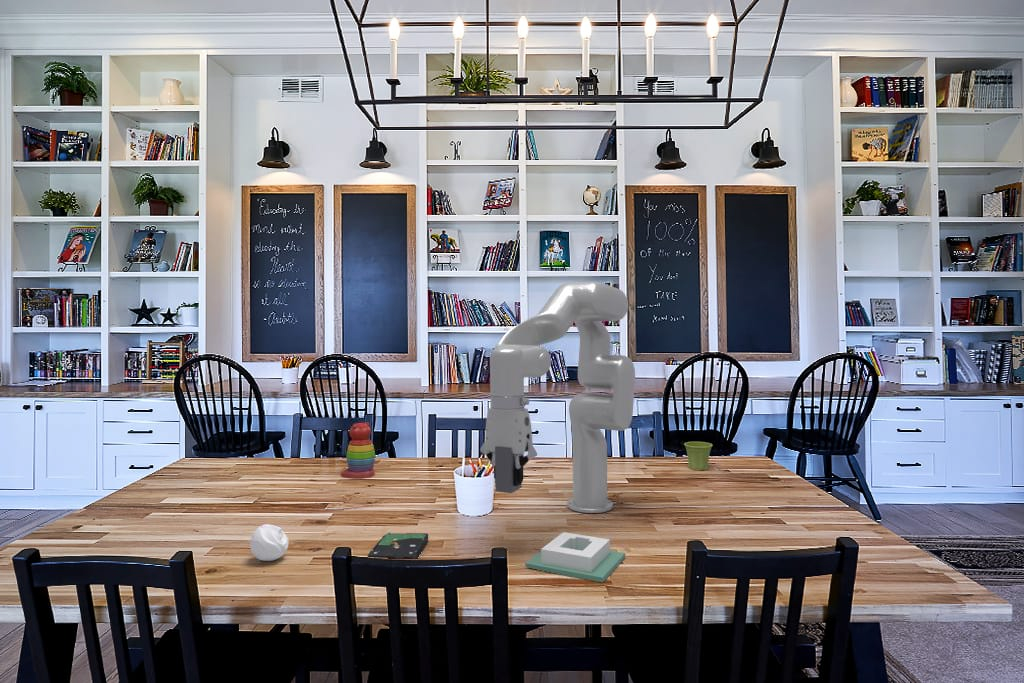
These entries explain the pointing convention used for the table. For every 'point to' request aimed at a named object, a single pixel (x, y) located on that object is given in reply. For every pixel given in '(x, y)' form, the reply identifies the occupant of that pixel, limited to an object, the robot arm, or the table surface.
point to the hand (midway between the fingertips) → (508, 482)
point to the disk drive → (400, 546)
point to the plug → (505, 470)
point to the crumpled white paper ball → (268, 542)
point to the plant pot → (698, 455)
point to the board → (581, 574)
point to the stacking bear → (360, 453)
